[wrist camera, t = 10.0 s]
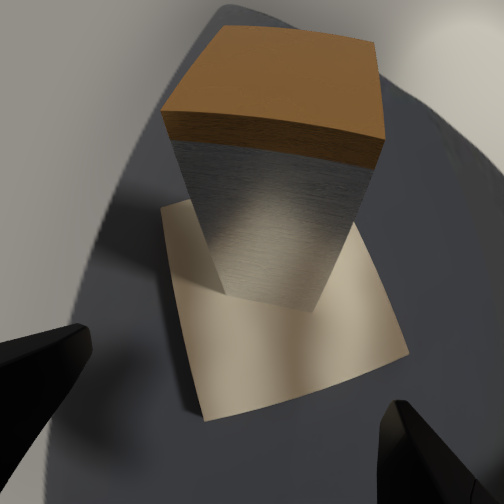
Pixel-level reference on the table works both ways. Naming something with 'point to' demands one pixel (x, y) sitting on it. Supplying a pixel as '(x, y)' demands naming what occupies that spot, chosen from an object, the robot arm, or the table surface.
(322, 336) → the birch board
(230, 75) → the aluminium block
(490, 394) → the table surface
